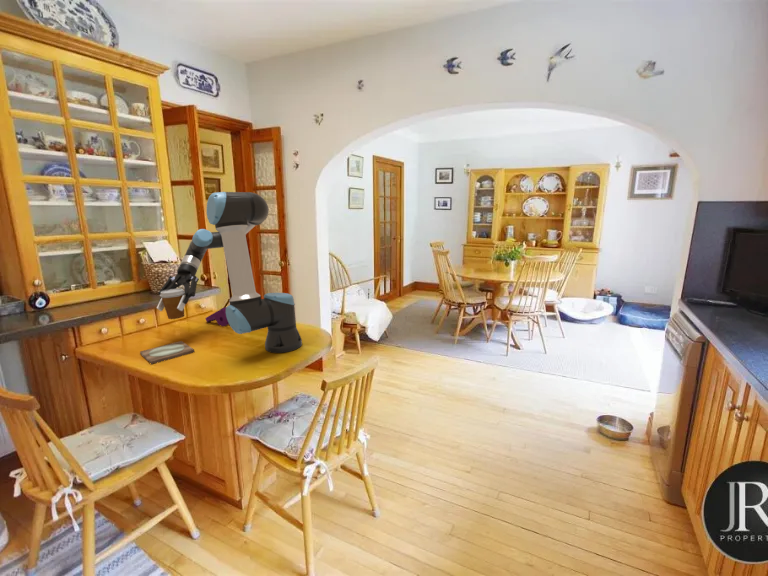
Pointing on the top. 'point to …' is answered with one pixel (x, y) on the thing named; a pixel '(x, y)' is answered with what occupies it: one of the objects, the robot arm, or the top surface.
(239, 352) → the top surface
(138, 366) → the top surface
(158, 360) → the coaster
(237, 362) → the top surface
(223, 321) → the mounting bracket
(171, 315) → the disposable coffee cup
